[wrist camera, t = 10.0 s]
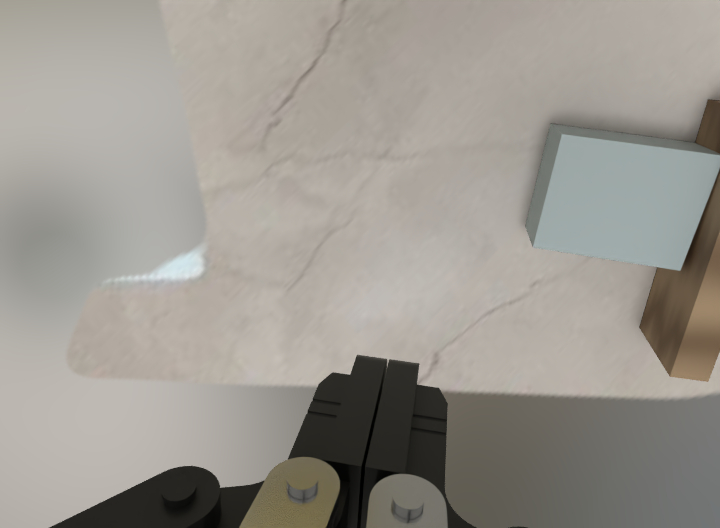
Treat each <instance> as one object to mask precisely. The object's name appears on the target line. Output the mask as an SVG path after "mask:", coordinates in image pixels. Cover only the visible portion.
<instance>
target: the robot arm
mask: <svg viewBox="0 0 720 528" xmlns="http://www.w3.org/2000/svg"><path fill="white" fill-rule="evenodd" d="M418 370H419V364H418V363H411V362H405V361H398V360H391V359H389V363H388V367H387V359H383V358H376V357H369V356H362V355H357V357H356V359H355V362H354V366H353V369H352V372H351V375H347V374H340V373H331V374H330V375H329V376H328V377H327V378H325V379H324V380H323V381H322V382H321V383H319V385H318V387H317V390H316V392H315V395H314V397H313V401H312V402H311V404H310V407H309V409H308V413H307V414H306V417H305V419H304V421H303V424H302V426H301V429H300V431H299V433H298V436H297V438H296V441H295V443H294V446H293V448H292V450H291V453H290V455H289V458H288V460H286V461H284V462H282V463H280V464H278V465H277V466H276V467H274V468H273V469H272V470H271V471H270V473H269V474H268V476H267V478H266V479H265V481H262V482H260V483H256V484H252V485H246V486H236V487H225V488H220V485H219V482H218V480H217V478H216V477H215V475H213V474H212V473H211V472H210V471H208V470H206V469H204V468H200V467H195V466H183V467H177V468H173V469H170V470H167V471H165V472H163V473H161V474H159V475H156V476H154V477H152V478H150V479H148V480H146V481H144V482H142V483H140V484H138V485H136V486H134V487H132V488H130V489H128V490H126V491H124V492H122V493H120V494H118V495H116V496H114V497H111V498H109V499H107V500H105V501H103V502H101V503H99V504H97V505H95V506H93V507H91V508H89V509H87V510H85V511H83V512H81V513H79V514H77V515H75V516H73V517H71V518H69V519H66V520H64V521H62V522H61V523H58V524H56V525H54V526H52V527H50V528H476V527H474V526H472V525H471V524H469V523H467V522H466V521H464V520H463V519H462V518H461V517H460V516H458V514H456V513H455V511H454V510H453V509H452V507H451V506H450V504H449V502H448V500H447V498H446V494H445V486H444V485H445V459H446V458H445V457H446V431H447V405H448V404H447V402H446V400H445V398H444V396H443V394H442V393H441V391H440V389H439V388H435V387H428V386H422V385H417V379H418ZM510 528H526V527H510Z"/></svg>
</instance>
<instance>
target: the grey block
mask: <svg viewBox="0 0 720 528" xmlns="http://www.w3.org/2000/svg"><path fill="white" fill-rule="evenodd" d="M719 170H720V154H719V153H717V152H715V151H713V150H710V149H708V148H706V147H704V146H701V145H699V144H697V143H695V142H687V141H680V140H672V139H664V138H657V137H649V136H642V135H634V134H626V133H619V132H611V131H604V130H596V129H589V128H581V127H573V126H566V125H558V124H550V128H549V132H548V136H547V140H546V144H545V148H544V153H543V157H542V161H541V165H540V169H539V173H538V177H537V181H536V185H535V189H534V193H533V197H532V201H531V205H530V209H529V213H528V217H527V221H526V229H527V232H528V235H529V238H530V241H531V244H532V247H533V248H539V249H546V250H552V251H558V252H564V253H571V254H577V255H583V256H590V257H596V258H602V259H609V260H615V261H621V262H628V263H634V264H640V265H647V266H653V267H659V268H665V269H672V270H678V271H680V270H681V268H682V265H683V263H684V260H685V258H686V255H687V252H688V250H689V247H690V245H691V242H692V239H693V237H694V234H695V232H696V229H697V227H698V224H699V221H700V219H701V216H702V214H703V211H704V208H705V206H706V203H707V201H708V198H709V196H710V193H711V190H712V188H713V185H714V183H715V180H716V177H717V175H718V172H719Z"/></svg>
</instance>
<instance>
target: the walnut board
mask: <svg viewBox="0 0 720 528" xmlns="http://www.w3.org/2000/svg"><path fill="white" fill-rule="evenodd" d="M695 143H697V144H699V145H701V146H704V147H706V148H708V149H710V150H713V151H715V152H717V153H719V154H720V100H708V102H707V105H706V109H705V112H704V115H703V118H702V122H701V125H700V128H699V132H698V135H697V138H696V142H695ZM639 328H640V329H641V331H642V332H643V334H644V336H645V337H646V339H647V340H648V342H649V344H650V345H651V347H652V349H653V350H654V352H655V353H656V355H657V357H658V358H659V360H660V361H661V363H662V365H663V366H664V368H665V369H666V371H667V373H668V374H669V376H670V377H677V378H685V379H692V380H699V381H706V382H708V381H709V378H710V375H711V373H712V370H713V368H714V365H715V362H716V360H717V357H718V354H719V352H720V170H719V172H718V175H717V177H716V180H715V183H714V185H713V188H712V190H711V193H710V196H709V198H708V201H707V203H706V206H705V208H704V211H703V214H702V216H701V219H700V221H699V224H698V227H697V229H696V232H695V234H694V237H693V239H692V242H691V245H690V247H689V250H688V252H687V255H686V258H685V260H684V263H683V265H682V268H681V270H680V271H678V270H672V269H665V268H659V267H658V268H657V271H656V274H655V277H654V281H653V284H652V287H651V291H650V294H649V297H648V301H647V304H646V307H645V311H644V314H643V317H642V321H641V324H640V327H639Z"/></svg>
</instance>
